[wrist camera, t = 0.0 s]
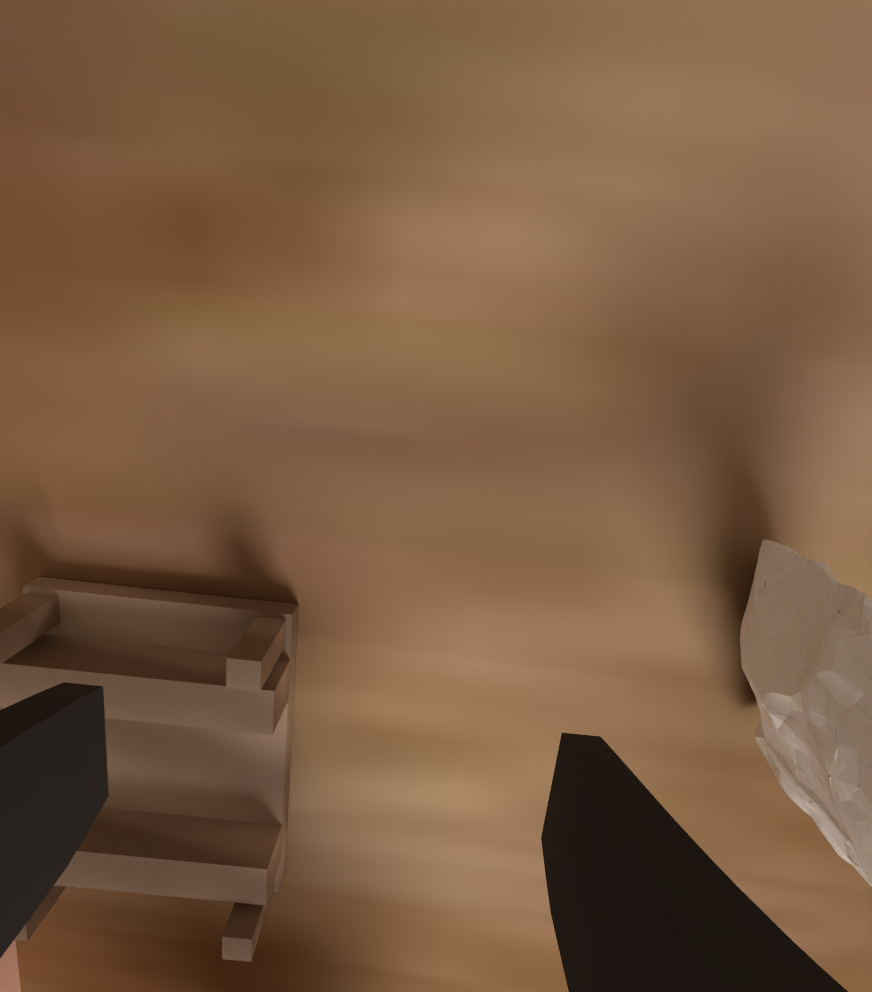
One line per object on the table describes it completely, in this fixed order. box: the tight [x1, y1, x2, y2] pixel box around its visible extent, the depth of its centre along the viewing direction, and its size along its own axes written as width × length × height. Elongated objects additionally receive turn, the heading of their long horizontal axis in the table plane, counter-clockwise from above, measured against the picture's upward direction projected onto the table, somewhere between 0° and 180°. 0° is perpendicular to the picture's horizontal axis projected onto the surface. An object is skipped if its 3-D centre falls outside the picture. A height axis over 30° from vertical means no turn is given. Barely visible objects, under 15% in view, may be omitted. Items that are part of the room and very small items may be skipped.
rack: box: [0, 577, 298, 962], centre depth 19 cm, size 12×9×3 cm
